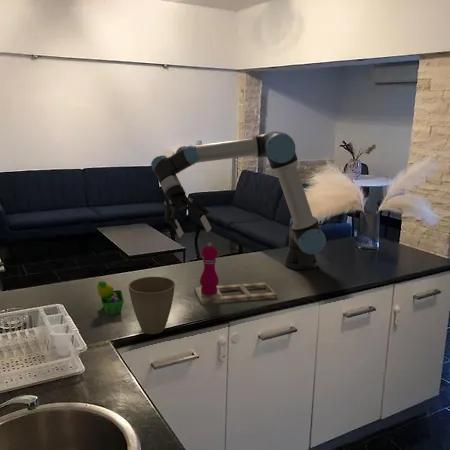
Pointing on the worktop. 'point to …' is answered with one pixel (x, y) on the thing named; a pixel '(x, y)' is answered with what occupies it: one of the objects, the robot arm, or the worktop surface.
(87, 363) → the worktop surface
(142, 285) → the plant pot
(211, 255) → the pepper mill
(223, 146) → the robot arm
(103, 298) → the fruit basket
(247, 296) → the board
